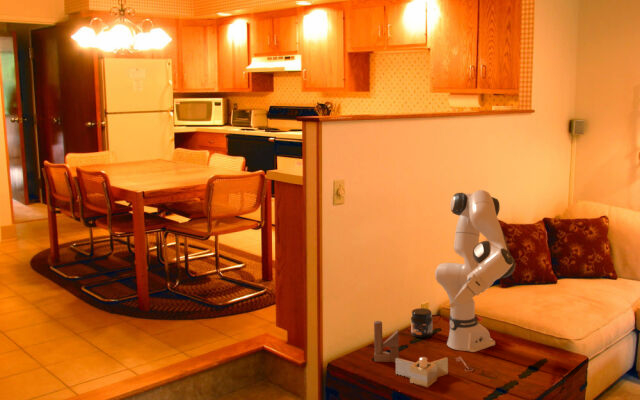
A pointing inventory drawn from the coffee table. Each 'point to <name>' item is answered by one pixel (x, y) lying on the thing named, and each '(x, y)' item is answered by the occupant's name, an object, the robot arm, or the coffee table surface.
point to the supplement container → (421, 323)
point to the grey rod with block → (385, 345)
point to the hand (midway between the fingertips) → (453, 302)
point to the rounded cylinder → (423, 362)
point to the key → (464, 364)
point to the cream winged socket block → (422, 371)
